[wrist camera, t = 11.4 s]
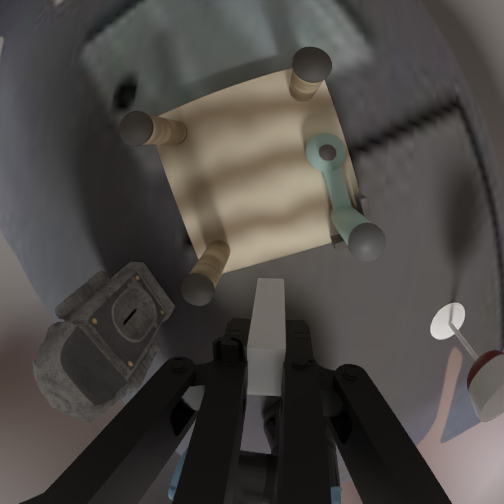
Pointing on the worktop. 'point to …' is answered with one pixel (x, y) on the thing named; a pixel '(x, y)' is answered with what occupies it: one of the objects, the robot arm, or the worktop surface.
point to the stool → (250, 169)
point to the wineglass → (475, 365)
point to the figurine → (102, 341)
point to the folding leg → (345, 201)
